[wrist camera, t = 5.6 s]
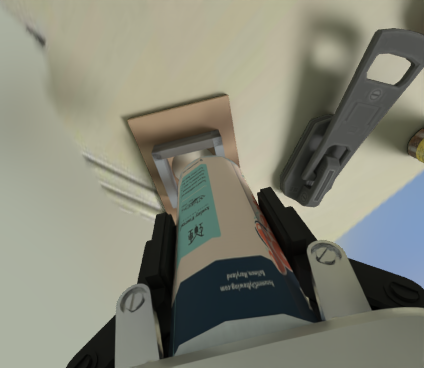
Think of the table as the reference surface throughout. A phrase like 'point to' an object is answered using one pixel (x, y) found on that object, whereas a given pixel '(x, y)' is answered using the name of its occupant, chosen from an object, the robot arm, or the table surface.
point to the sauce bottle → (417, 146)
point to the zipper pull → (349, 119)
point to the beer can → (227, 264)
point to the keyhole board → (183, 141)
